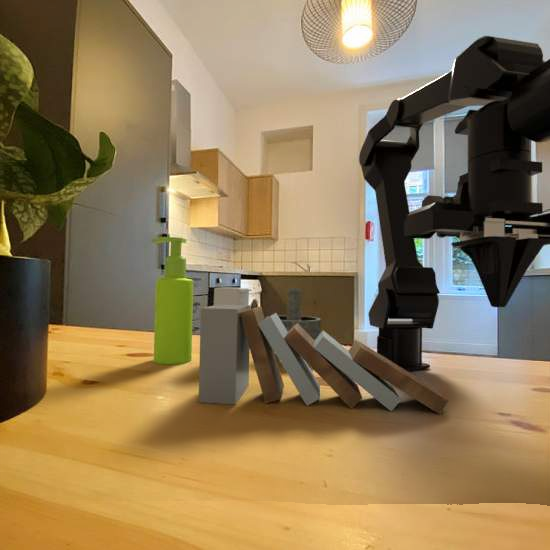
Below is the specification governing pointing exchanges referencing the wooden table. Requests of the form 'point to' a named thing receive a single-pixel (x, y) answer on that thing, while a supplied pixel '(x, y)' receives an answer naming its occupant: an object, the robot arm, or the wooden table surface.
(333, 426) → the wooden table surface
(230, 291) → the skincare box
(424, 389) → the domino
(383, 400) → the domino
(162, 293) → the soap dispenser
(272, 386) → the domino
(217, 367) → the bookend
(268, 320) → the domino
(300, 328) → the domino
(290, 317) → the mortar and pestle
